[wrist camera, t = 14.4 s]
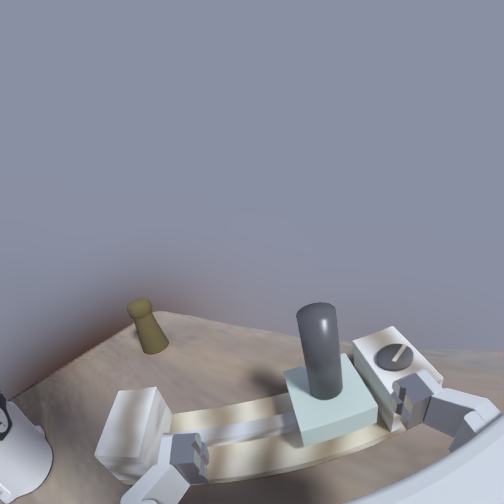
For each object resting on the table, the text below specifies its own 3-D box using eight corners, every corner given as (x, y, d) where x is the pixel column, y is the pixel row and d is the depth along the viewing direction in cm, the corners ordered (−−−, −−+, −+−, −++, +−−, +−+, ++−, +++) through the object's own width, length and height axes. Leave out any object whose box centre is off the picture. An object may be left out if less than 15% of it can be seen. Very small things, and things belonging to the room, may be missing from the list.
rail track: (123, 484, 23) (90, 451, 21) (139, 421, 35) (116, 387, 33) (433, 416, 24) (444, 373, 22) (391, 363, 36) (392, 321, 34)
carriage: (305, 453, 24) (283, 356, 20) (289, 395, 34) (265, 301, 30) (375, 430, 24) (380, 325, 20) (346, 378, 34) (337, 281, 30)
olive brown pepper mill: (156, 336, 60) (138, 293, 57) (174, 341, 57) (156, 295, 54) (138, 351, 56) (117, 306, 53) (155, 356, 52) (134, 309, 49)
